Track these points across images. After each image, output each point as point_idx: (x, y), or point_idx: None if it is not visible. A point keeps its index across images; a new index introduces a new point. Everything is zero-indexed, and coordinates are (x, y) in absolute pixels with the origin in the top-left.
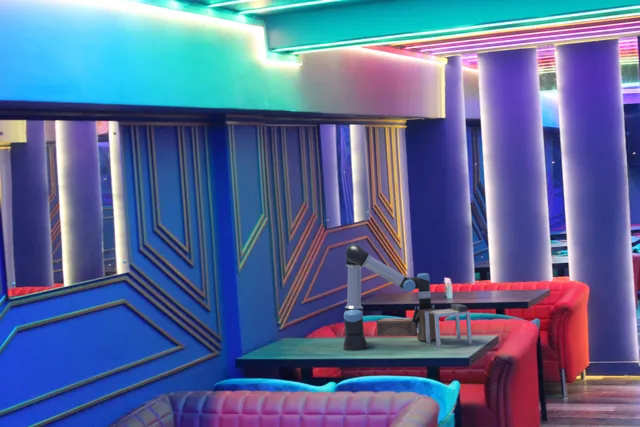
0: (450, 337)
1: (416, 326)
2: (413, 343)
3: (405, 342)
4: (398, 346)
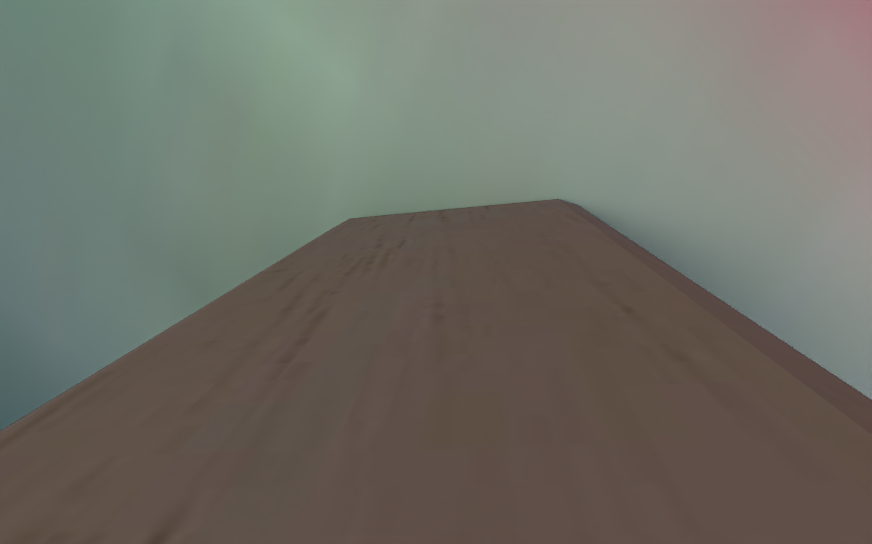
0: (862, 324)
1: None
2: None
3: (153, 279)
4: None
